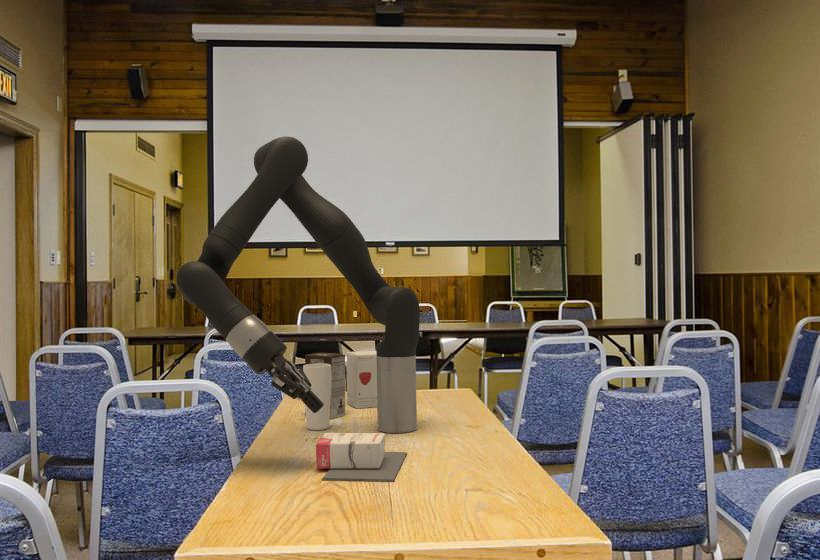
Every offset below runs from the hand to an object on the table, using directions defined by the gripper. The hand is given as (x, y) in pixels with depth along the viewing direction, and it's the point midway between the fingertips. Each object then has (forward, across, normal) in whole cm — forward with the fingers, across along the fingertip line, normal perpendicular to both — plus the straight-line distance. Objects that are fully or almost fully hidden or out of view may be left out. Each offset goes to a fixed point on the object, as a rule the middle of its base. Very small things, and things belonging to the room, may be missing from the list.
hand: (319, 409), depth 120 cm
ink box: (+5, 0, +6) cm, 8 cm away
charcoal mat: (+14, 0, +1) cm, 14 cm away
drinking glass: (+1, +31, +14) cm, 34 cm away
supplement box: (+6, +61, +9) cm, 62 cm away
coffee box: (0, +46, +15) cm, 49 cm away
